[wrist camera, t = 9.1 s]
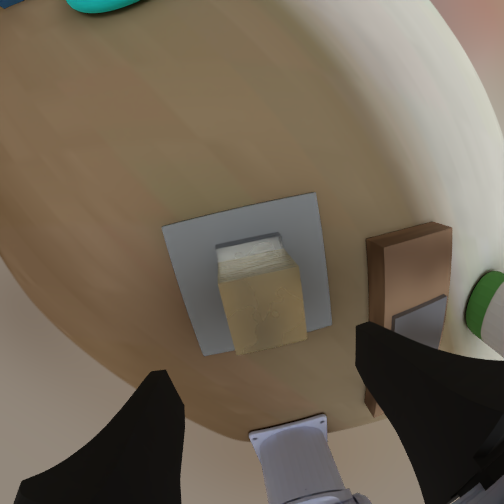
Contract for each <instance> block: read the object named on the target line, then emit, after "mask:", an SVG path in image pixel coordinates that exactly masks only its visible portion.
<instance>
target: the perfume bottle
mask: <svg viewBox="0 0 504 504" xmlns="http://www.w3.org/2000/svg"><path fill="white" fill-rule="evenodd" d="M21 1H24V0H0V6H1V7H2V8H4V9H5V8H7V7H9V6H11V5H14V4H16V3H19V2H21Z"/></svg>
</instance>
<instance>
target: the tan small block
mask: <svg viewBox="0 0 504 504" xmlns="http://www.w3.org/2000/svg"><path fill="white" fill-rule="evenodd" d="M215 251H216V255H217V260H218V287H219V291H220V295H221V299H222V303H223V307H224V311H225V314H226V318H227V322H228V326H229V329H230V333H231V337H232V340H233V344H234V348H235V351H236V355H237V356H238V355H243V354H248V353H252V352H257V351H262V350H266V349H271V348H275V347H279V346H283V345H287V344H292V343H295V342H299V341H303V340H307V329H306V320H305V311H304V302H303V294H302V286H301V278H300V270H299V266H298V265H297V263H296V262H295V261H294V260H293V259H292V258H291V256H290V255H289V254H288V253H287V252H286V251H285V249H284V247H283V241H282V236H281V235H280V234H279V233H278V232H274V233H269V234H264V235H259V236H254V237H249V238H244V239H240V240H235V241H230V242H225V243H221V244H216V245H215Z"/></svg>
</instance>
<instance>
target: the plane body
mask: <svg viewBox="0 0 504 504" xmlns="http://www.w3.org/2000/svg"><path fill="white" fill-rule="evenodd" d="M366 246H367V261H368V281H369V321H371V322H374V323H376V324H378V325H380V326H383V327H385V328H387V329H389V330H391V331H394V332H396V333H398V334H400V335H402V336H405V337H407V338H409V339H412V340H414V341H417V342H419V343H422V344H424V345H427V346H430V347H433V348H435V349H438V350H439V348H440V343H441V338H442V333H443V328H444V322H445V316H446V310H447V302H448V294H449V285H450V274H451V259H452V227H449V226H445V225H442V224H439V223H435V222H429V223H425V224H422V225H418V226H414V227H410V228H406V229H402V230H399V231H395V232H391V233H387V234H383V235H379V236H375V237H371V238H367V239H366ZM365 404H366V406H367V407H368V409H369V411H370V412H371V414H372V416H373V417H374V418H375V417H377V416H379V415H382V414H384V412H383V411H382V409H381V408H380V406H379V405H378V403H377V402H376V401H375V399H374V398H373V396H372V395H371V393H370V392H369V390H368V389H367V387H366V393H365Z"/></svg>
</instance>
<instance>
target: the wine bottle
mask: <svg viewBox="0 0 504 504" xmlns="http://www.w3.org/2000/svg"><path fill="white" fill-rule="evenodd" d="M466 322H467V326H468V328H469V329H470V331H471V332H472V333H473V334H475V335H476V336H477V337H478V338H480V339H481V340H482V341H484V342H485V343H486V344H487V345H488V346H490V347H491V348H492V349H494V350H495V351H496V352H497V353H499V354H500V355H501V356H502V357H504V274H503V273H501V272H498V271H491V272H489V273H487V274H486V275H484V276H483V277H482V278H481V280H480V281H479V282H478V283H477V285H476V287H475V288H474V290H473V292H472V294H471V297H470V299H469V302H468V305H467V310H466Z"/></svg>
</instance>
